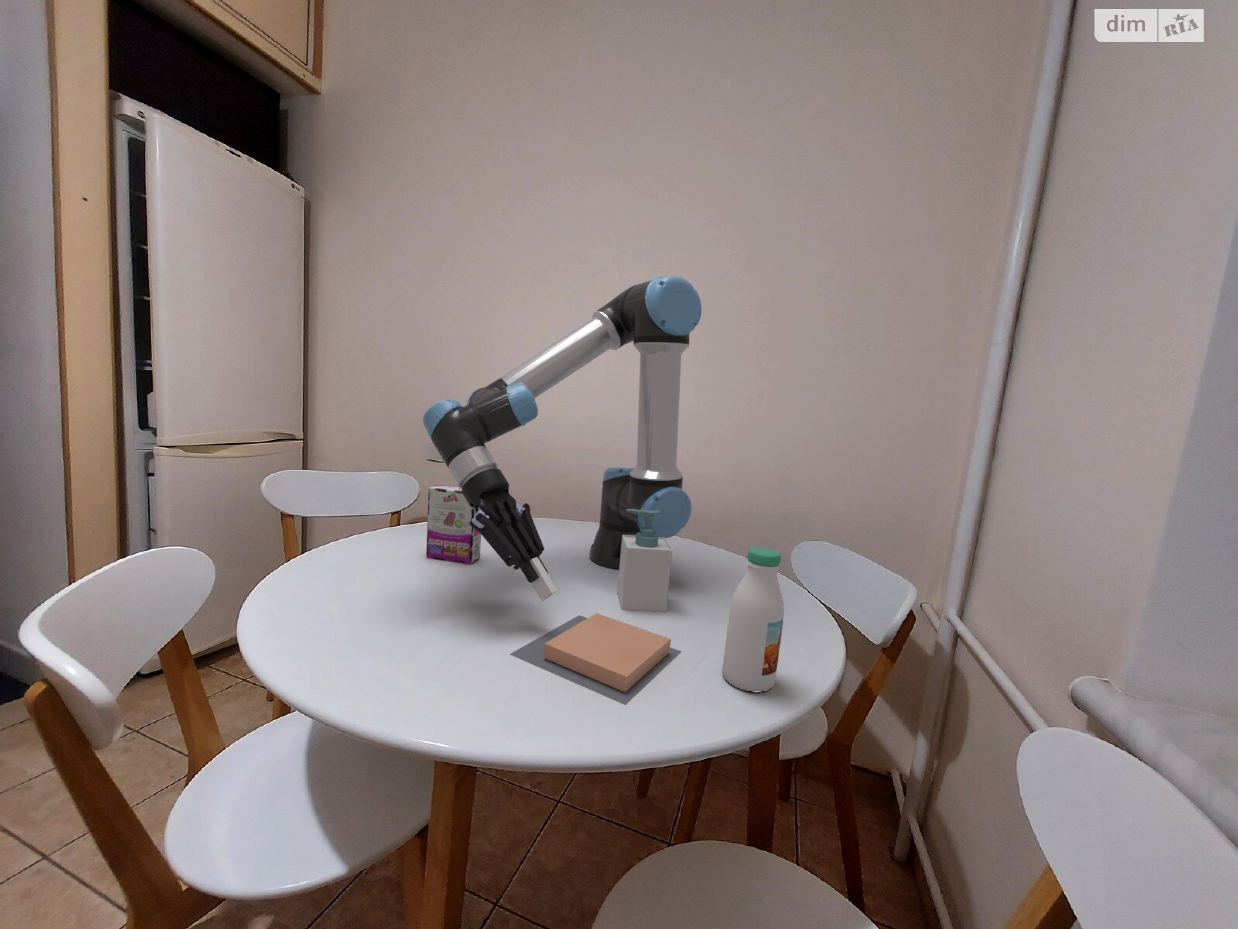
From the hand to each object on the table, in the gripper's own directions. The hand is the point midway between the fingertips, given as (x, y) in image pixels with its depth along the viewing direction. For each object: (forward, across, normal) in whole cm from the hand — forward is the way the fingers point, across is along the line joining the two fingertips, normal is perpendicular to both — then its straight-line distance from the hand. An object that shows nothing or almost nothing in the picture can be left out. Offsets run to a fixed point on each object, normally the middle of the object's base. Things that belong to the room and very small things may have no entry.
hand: (549, 595), depth 84 cm
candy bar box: (-23, -16, -33) cm, 43 cm away
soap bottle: (+9, -22, -1) cm, 24 cm away
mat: (+12, 0, +2) cm, 12 cm away
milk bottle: (+27, -8, +17) cm, 33 cm away
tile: (+7, 0, 0) cm, 7 cm away
